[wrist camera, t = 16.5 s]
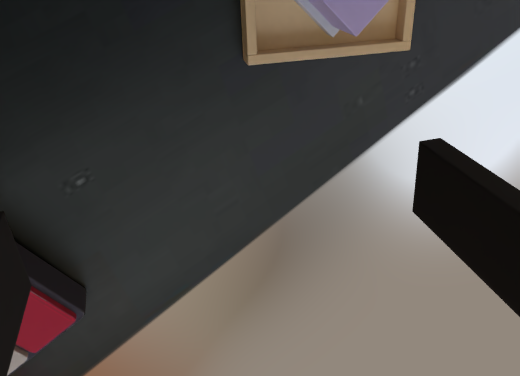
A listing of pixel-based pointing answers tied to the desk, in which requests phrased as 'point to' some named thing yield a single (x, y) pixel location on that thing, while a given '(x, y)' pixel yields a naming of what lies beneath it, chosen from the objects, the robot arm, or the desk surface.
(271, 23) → the tray
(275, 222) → the desk surface
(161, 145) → the desk surface
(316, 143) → the desk surface
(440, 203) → the robot arm
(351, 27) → the iron
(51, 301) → the calculator
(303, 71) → the desk surface
